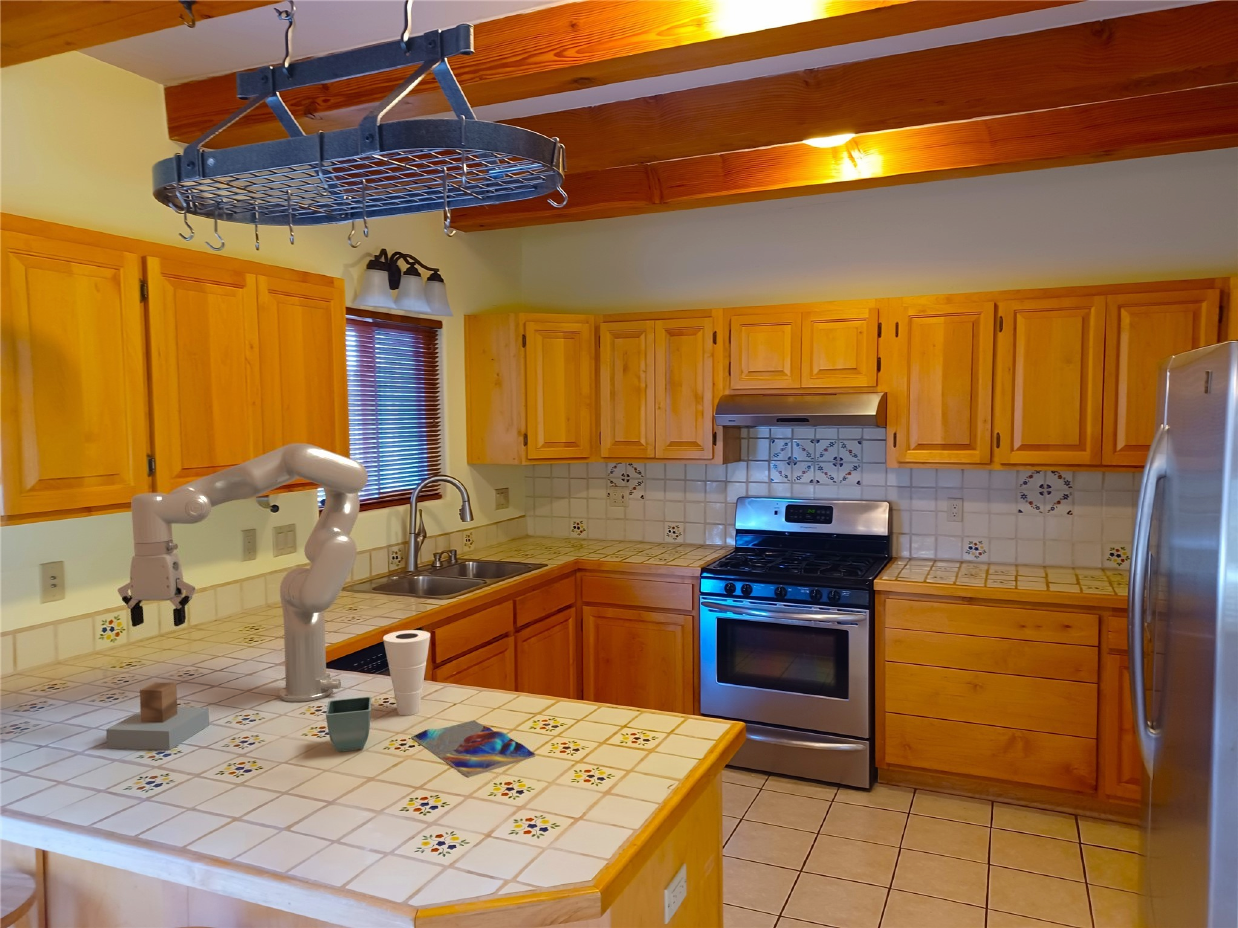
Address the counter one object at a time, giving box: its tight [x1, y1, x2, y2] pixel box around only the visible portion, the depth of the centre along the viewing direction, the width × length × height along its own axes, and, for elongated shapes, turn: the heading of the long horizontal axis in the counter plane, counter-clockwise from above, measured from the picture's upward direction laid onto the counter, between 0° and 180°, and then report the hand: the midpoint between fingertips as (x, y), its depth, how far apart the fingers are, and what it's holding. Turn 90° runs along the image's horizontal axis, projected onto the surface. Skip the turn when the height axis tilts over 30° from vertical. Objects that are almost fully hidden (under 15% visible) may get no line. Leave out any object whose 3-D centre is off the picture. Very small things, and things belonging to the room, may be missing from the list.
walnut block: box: [139, 682, 178, 723], centre depth 181 cm, size 5×5×7 cm
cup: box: [382, 629, 431, 716], centre depth 195 cm, size 11×11×18 cm
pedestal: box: [106, 706, 210, 751], centre depth 182 cm, size 14×14×4 cm
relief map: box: [410, 719, 536, 778], centre depth 175 cm, size 25×15×2 cm, turn 39°
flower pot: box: [325, 696, 372, 752], centre depth 175 cm, size 9×9×9 cm
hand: (158, 624), depth 186 cm, fingers open, 9 cm apart
